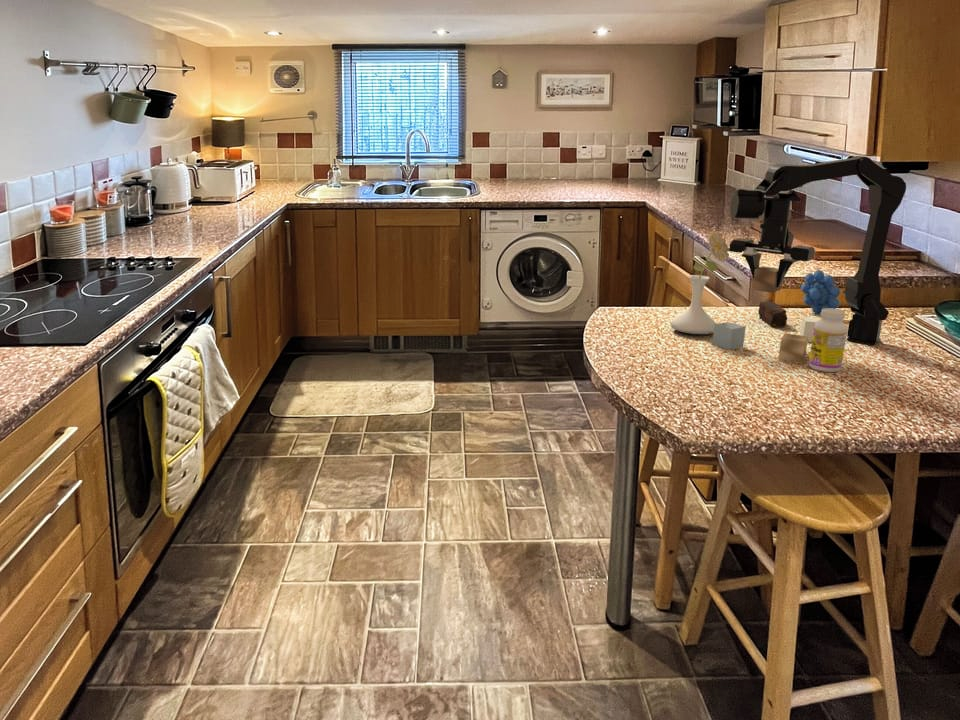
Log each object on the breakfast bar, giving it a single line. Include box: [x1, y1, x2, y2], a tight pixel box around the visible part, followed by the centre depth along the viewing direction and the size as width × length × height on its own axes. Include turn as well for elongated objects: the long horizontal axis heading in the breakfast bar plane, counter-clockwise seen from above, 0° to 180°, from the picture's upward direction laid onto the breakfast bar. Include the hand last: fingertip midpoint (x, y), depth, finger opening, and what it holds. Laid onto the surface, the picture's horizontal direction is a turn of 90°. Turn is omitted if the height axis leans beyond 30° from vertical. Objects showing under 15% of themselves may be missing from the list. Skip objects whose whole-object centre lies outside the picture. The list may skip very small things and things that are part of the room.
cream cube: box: [799, 316, 822, 343], centre depth 213 cm, size 5×5×5 cm
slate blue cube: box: [711, 321, 747, 351], centre depth 205 cm, size 5×5×5 cm
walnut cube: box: [752, 266, 782, 294], centre depth 209 cm, size 5×5×5 cm
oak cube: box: [778, 332, 809, 364], centre depth 196 cm, size 5×5×5 cm
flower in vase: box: [669, 229, 730, 335], centre depth 213 cm, size 13×11×25 cm
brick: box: [757, 301, 788, 328], centre depth 229 cm, size 11×4×5 cm, turn 2°
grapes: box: [800, 269, 841, 315], centre depth 239 cm, size 12×7×12 cm, turn 38°
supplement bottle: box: [808, 308, 848, 373], centre depth 188 cm, size 7×7×13 cm
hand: (766, 285), depth 210 cm, fingers closed on walnut cube, 5 cm apart
